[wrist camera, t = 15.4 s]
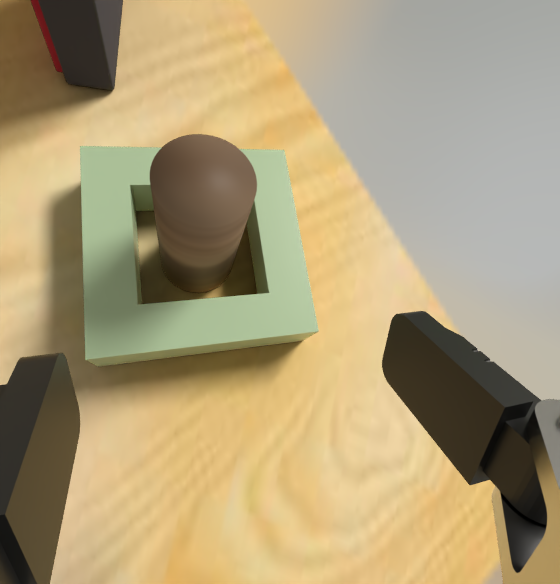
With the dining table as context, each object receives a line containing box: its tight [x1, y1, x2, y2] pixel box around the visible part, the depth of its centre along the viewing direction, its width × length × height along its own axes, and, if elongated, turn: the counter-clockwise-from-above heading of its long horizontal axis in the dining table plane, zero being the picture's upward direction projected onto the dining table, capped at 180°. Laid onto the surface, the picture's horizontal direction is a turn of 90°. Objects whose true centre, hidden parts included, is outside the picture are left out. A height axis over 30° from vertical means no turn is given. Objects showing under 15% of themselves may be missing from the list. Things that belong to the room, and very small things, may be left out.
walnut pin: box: [150, 134, 257, 293], centre depth 20 cm, size 4×4×9 cm
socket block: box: [80, 146, 318, 367], centre depth 23 cm, size 12×12×3 cm
